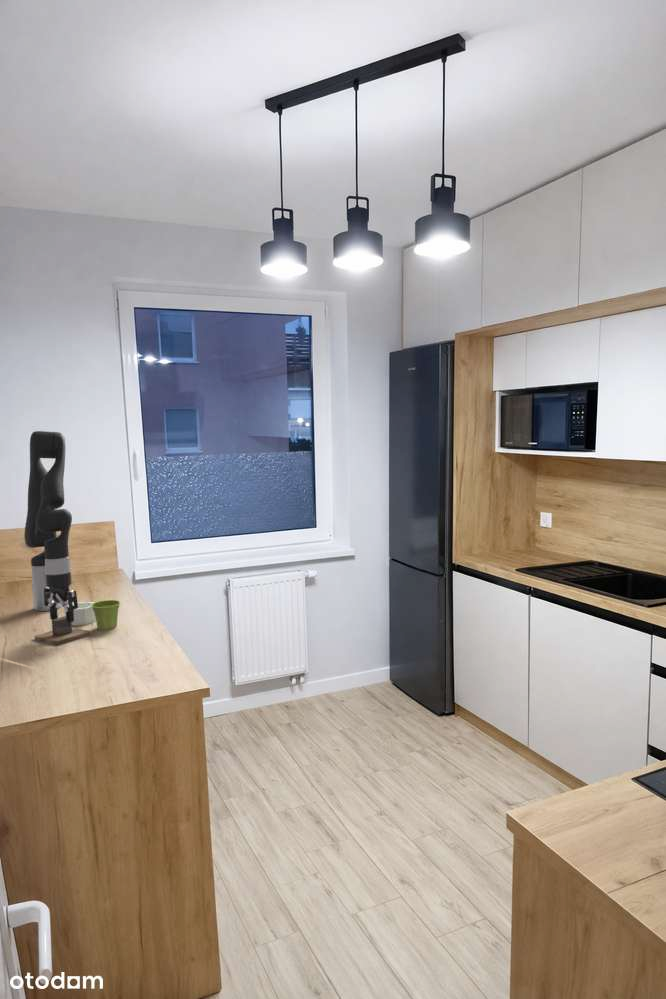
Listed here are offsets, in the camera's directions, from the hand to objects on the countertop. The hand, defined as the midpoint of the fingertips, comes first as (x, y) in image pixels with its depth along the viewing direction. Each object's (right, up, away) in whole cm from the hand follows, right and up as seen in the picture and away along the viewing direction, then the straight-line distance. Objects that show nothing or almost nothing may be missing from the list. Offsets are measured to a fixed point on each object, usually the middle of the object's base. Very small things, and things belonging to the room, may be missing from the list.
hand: (62, 620), depth 211 cm
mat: (0, -6, +1) cm, 6 cm away
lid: (0, -6, +1) cm, 6 cm away
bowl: (-1, -4, +19) cm, 20 cm away
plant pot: (+11, -5, +11) cm, 16 cm away
